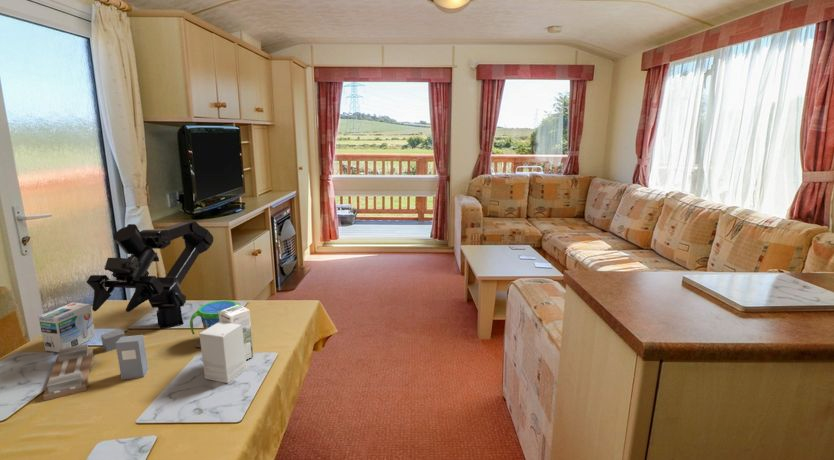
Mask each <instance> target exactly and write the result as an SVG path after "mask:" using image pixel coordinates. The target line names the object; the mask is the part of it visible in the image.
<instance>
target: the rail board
mask: <svg viewBox="0 0 834 460" xmlns="http://www.w3.org/2000/svg"><path fill="white" fill-rule="evenodd" d="M94 354H95V353H94V348H90V349H89V346H88V343H82V344H80V345H78V346H73V347H68V348H63V349H60V351H59V352H58V355H57V356H56V358H55V362H54V364H53V367H52V370H51V373H50V375H49V378H48V382H47V384H46V387H45V390H44V393H43V401H49V400H53V399H56V398H61V397H65V396H70V395H74V394H77V393H81V392H85V391H87V389H88V384H89V380H90V375H91V374H90V373H91V368H92V363H93V360H94V359H93V357H94Z"/></svg>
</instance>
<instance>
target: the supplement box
mask: <svg viewBox="0 0 834 460" xmlns="http://www.w3.org/2000/svg"><path fill="white" fill-rule="evenodd" d="M198 336H199V343H200V351H201V357H202V365H203V373H204V379H205V380H210V381H215V382H220V383H226V384H229V383H230V382H232V381H233V380H234V379H235V377H236V376H237V377H238V376H240V375H241V374H242V373H243V371H244V370H245V369H246V368H248V367H247V361H246V358H245V349H244V340H243V330H242V325H239V324H232V323H225V322H218V323H216V324H215V325H213V326H211V327H209V328H208V329H206V330H204V329H203V331H200V332H199V333H198ZM246 370H247V369H246ZM246 370H245V371H246ZM245 371H244V372H245ZM241 372H242V373H241ZM240 373H241V374H240ZM239 374H240V375H239ZM237 377H236V378H237ZM232 379H233V380H232Z"/></svg>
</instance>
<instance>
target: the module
mask: <svg viewBox="0 0 834 460" xmlns="http://www.w3.org/2000/svg"><path fill="white" fill-rule="evenodd" d="M115 350H116V355H117V360H118V364H119V365H118V366H119V371H120V378H121V380H131V379H138V378H139V379H140V378H144V377H146V375H147V373H148V371H149V365H148V358H147V352H146V351H147V350H146V346H145V339H144V334H138V335H136V334H135V335H125V337H121V338H120V339H119V340H118V341H117V342H116V349H115Z"/></svg>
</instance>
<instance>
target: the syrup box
mask: <svg viewBox="0 0 834 460" xmlns="http://www.w3.org/2000/svg"><path fill="white" fill-rule="evenodd" d="M239 305H240V304H239ZM239 305H236V306H233V307H230V308H227V309H225V310H222V311H219V312H218V313H219V322H225V323H232V324H239V325H242V330H243V340H244V349H245V358H246V360H247V359H249V358H251V357H253V358H254V350H253V349H254V347H253V337H252V325H251V314H250V313H251V311H250V309H249V308H247V307H245V306H243V305H241V306H239ZM251 359H252V358H251ZM249 360H250V359H249ZM247 361H248V360H247Z"/></svg>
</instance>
